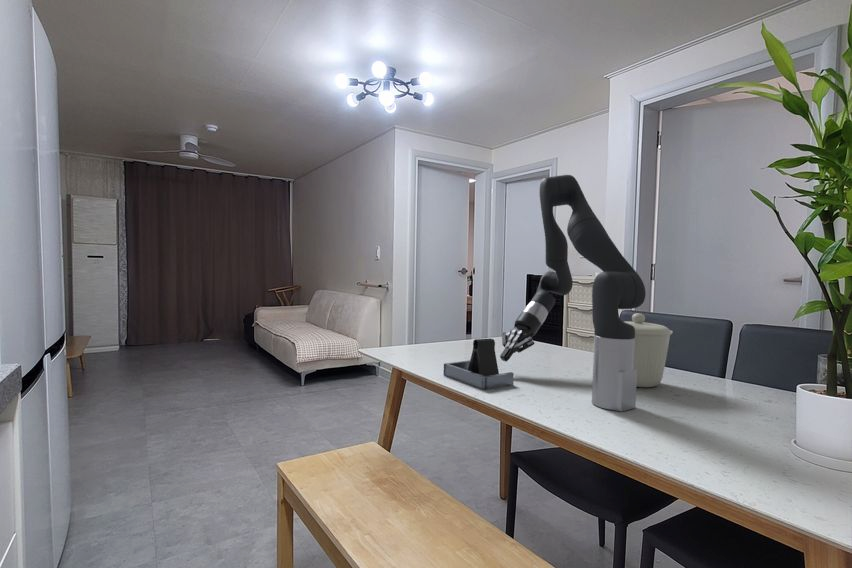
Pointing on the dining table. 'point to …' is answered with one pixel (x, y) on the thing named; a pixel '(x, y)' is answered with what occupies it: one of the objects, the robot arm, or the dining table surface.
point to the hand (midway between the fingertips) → (503, 359)
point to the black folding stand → (483, 357)
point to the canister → (649, 350)
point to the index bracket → (476, 376)
